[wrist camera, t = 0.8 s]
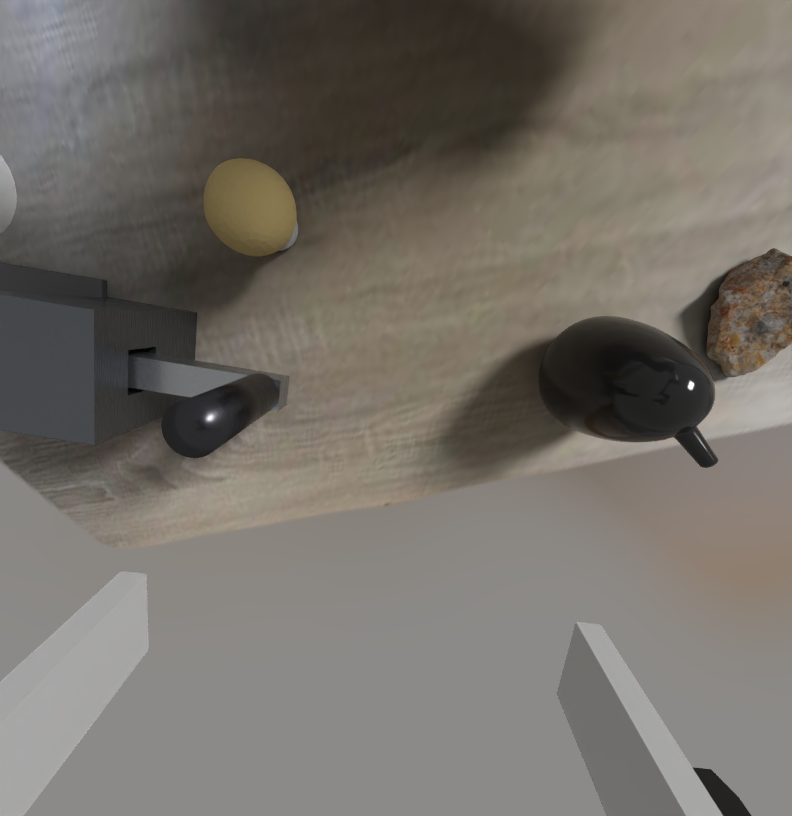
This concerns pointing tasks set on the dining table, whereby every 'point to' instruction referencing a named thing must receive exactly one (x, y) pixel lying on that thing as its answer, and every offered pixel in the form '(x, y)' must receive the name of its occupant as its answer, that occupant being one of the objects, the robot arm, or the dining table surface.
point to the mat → (49, 282)
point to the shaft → (206, 398)
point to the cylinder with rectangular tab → (6, 196)
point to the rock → (752, 314)
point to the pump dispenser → (628, 384)
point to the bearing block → (83, 363)
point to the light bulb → (250, 207)
